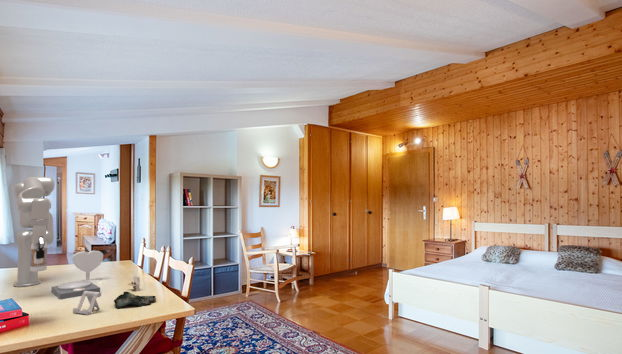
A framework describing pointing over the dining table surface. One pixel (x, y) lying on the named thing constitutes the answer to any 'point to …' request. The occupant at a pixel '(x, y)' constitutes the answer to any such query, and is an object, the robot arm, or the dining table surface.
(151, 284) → the dining table surface
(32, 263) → the bath foam
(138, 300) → the decorative rock
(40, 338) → the dining table surface
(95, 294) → the portable electronic device stand
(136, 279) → the architectural model
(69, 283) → the dial scale
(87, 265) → the heart sculpture
